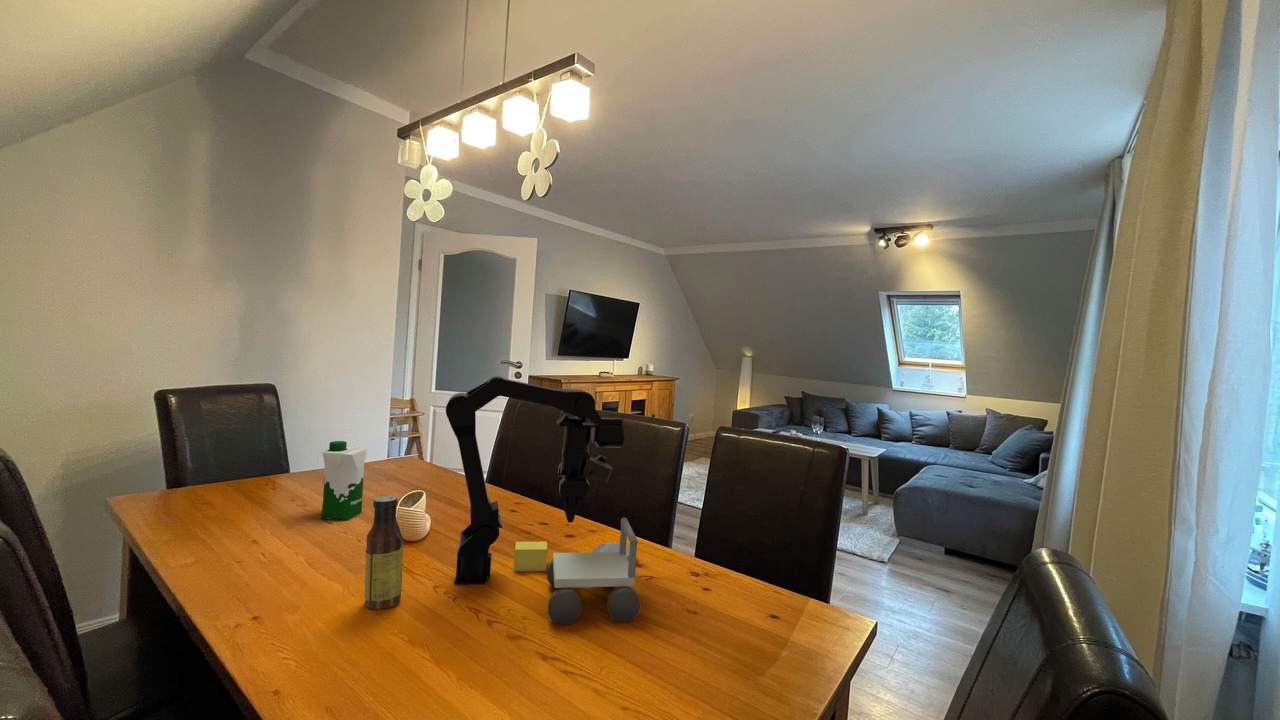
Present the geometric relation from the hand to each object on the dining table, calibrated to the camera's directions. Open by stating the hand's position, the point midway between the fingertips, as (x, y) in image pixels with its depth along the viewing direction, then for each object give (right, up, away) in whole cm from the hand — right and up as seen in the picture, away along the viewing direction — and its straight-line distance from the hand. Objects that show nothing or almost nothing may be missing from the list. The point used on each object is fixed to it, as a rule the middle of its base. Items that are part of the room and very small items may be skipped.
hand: (569, 515), depth 115 cm
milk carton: (-66, -8, +25) cm, 71 cm away
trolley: (+6, -13, -13) cm, 20 cm away
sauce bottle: (-33, -11, -19) cm, 39 cm away
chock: (-9, -12, +1) cm, 15 cm away
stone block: (+9, -14, +6) cm, 17 cm away
